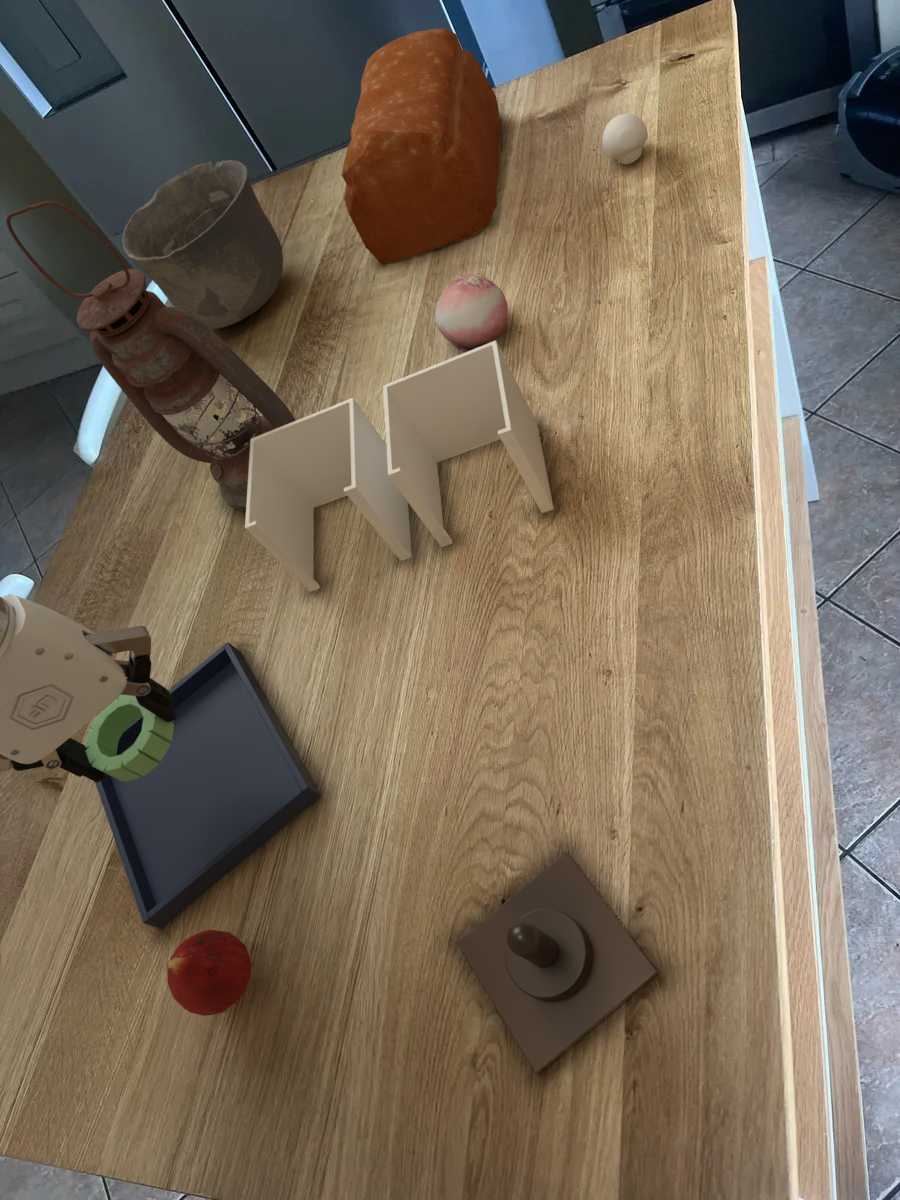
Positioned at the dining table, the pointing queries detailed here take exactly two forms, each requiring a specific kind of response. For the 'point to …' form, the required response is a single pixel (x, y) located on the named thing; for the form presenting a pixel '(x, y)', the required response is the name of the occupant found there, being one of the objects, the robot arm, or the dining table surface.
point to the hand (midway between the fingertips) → (132, 737)
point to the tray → (205, 789)
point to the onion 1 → (209, 972)
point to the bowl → (208, 244)
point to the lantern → (175, 371)
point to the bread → (422, 147)
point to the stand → (555, 961)
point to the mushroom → (624, 138)
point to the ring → (141, 753)
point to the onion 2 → (471, 312)
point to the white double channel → (389, 456)
